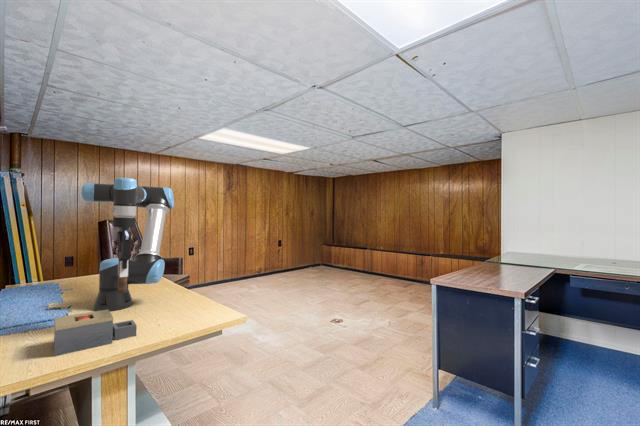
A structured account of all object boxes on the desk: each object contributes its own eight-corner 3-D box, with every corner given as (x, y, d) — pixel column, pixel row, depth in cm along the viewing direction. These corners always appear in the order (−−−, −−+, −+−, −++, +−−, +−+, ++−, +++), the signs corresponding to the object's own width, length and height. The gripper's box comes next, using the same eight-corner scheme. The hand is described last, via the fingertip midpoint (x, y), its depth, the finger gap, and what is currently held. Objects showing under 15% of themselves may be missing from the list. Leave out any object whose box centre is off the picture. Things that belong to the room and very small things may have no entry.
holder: (111, 334, 111) (112, 323, 111) (132, 330, 115) (132, 319, 115) (114, 340, 106) (115, 329, 106) (136, 335, 110) (136, 324, 110)
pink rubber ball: (77, 327, 103) (77, 318, 103) (89, 325, 105) (89, 316, 105) (78, 330, 100) (78, 321, 100) (90, 328, 103) (90, 319, 103)
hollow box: (53, 344, 102) (54, 317, 102) (107, 333, 112) (108, 309, 112) (54, 356, 93) (55, 327, 94) (112, 343, 104) (113, 317, 104)
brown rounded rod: (117, 292, 119) (118, 252, 119) (125, 291, 121) (127, 251, 121) (118, 293, 117) (119, 252, 117) (127, 292, 119) (128, 252, 119)
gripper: (109, 216, 122) (108, 273, 122) (116, 217, 110) (114, 281, 110) (131, 216, 127) (129, 271, 127) (140, 217, 115) (138, 278, 115)
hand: (122, 275), depth 119 cm, fingers closed on brown rounded rod, 3 cm apart
